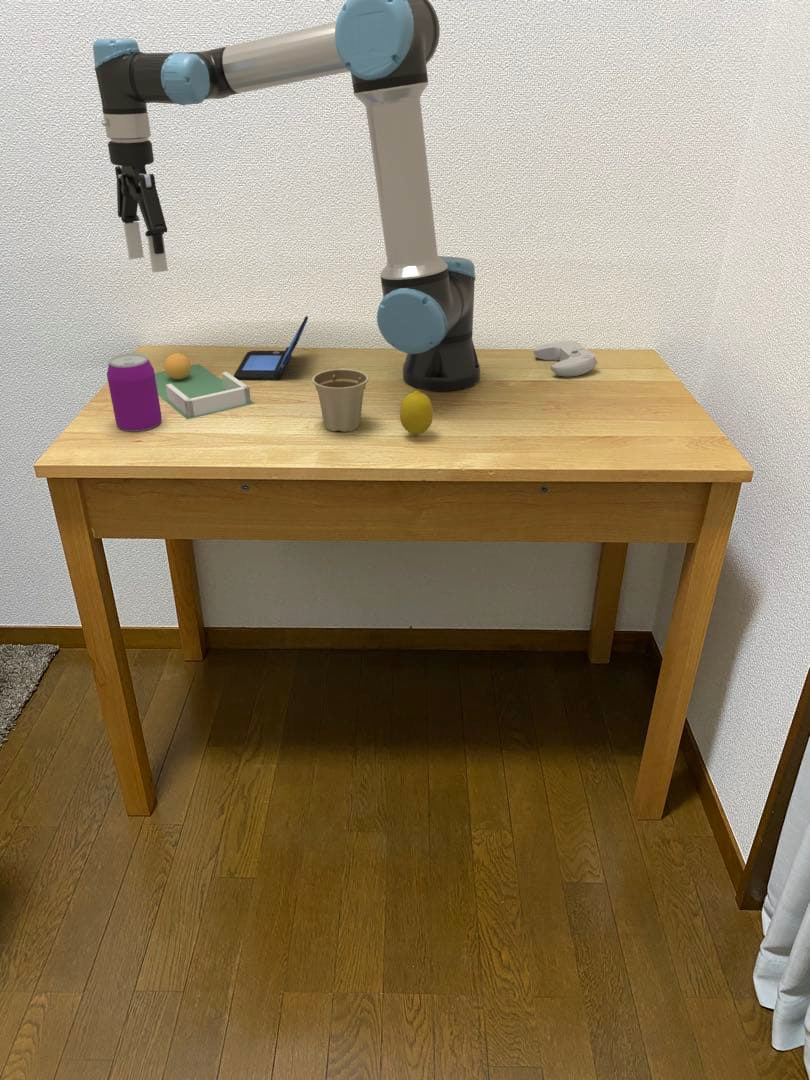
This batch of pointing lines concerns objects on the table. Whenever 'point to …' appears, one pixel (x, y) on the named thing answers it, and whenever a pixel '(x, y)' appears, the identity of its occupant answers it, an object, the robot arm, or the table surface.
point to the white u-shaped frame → (211, 398)
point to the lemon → (416, 413)
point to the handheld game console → (267, 362)
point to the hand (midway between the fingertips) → (148, 264)
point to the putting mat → (192, 386)
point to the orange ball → (177, 366)
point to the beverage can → (133, 392)
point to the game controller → (567, 357)
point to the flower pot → (341, 397)
